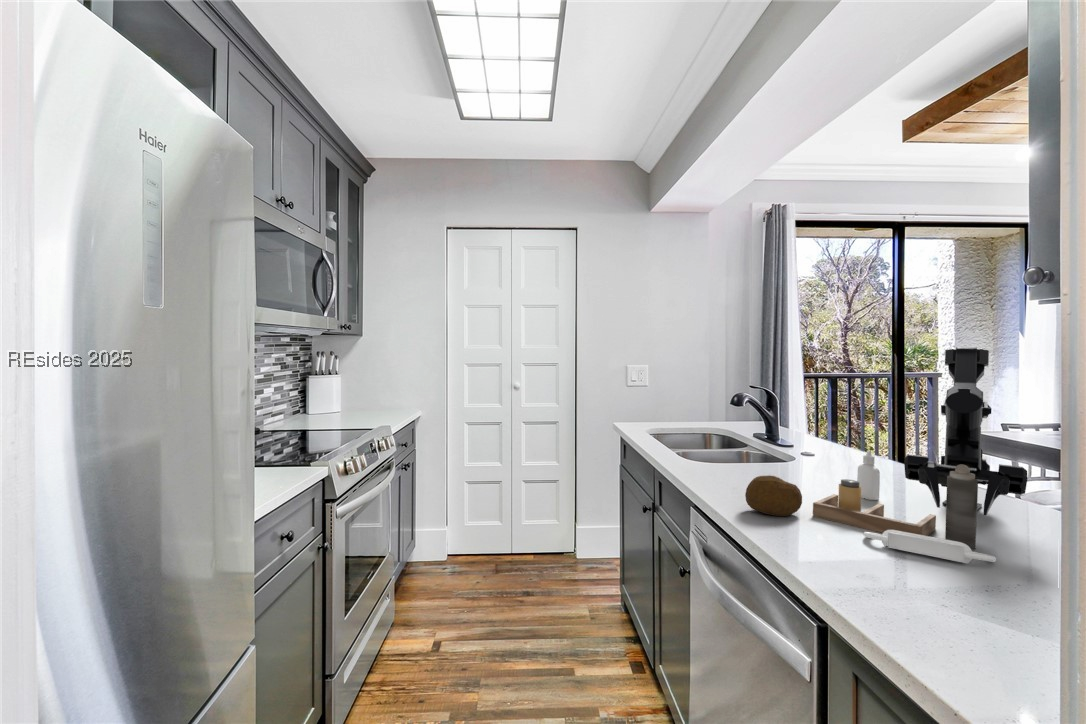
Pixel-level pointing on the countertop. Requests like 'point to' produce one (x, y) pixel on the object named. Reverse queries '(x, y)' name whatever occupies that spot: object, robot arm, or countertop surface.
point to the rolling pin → (928, 546)
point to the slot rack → (870, 518)
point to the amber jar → (850, 495)
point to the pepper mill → (961, 506)
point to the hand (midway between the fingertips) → (961, 510)
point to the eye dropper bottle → (869, 478)
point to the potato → (773, 496)
